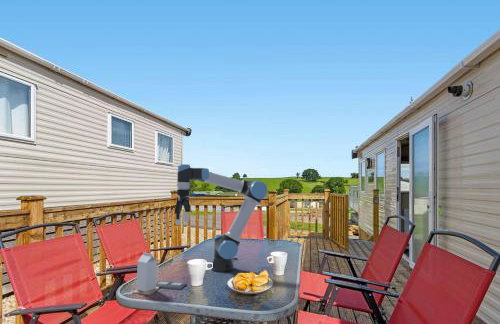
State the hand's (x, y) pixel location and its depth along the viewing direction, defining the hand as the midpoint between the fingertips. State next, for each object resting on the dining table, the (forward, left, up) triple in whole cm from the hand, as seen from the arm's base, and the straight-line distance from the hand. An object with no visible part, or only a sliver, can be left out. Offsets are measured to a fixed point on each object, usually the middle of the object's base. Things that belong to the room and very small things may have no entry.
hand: (182, 223), depth 192 cm
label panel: (0, +16, -33) cm, 36 cm away
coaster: (+9, +26, -33) cm, 43 cm away
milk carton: (+9, +26, -32) cm, 42 cm away
